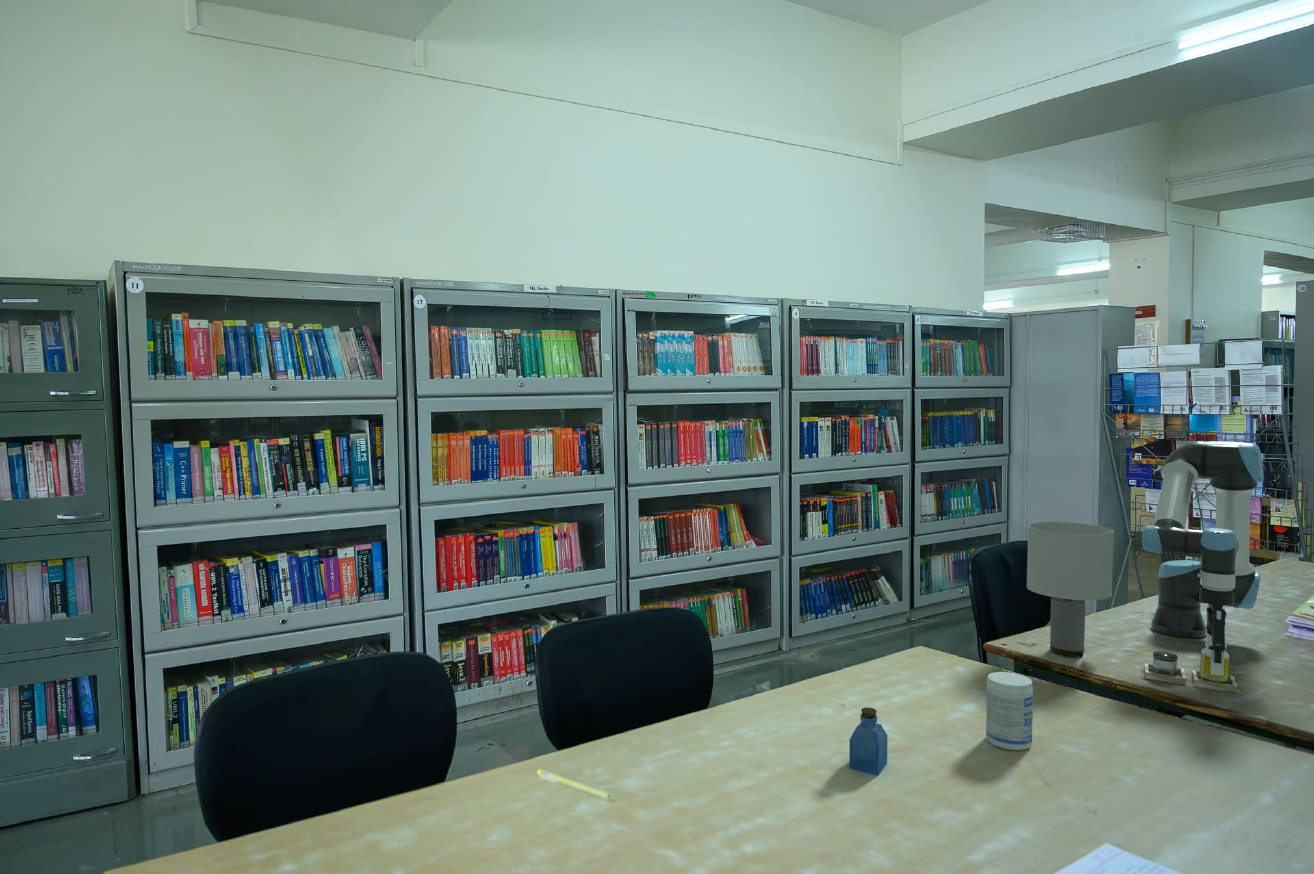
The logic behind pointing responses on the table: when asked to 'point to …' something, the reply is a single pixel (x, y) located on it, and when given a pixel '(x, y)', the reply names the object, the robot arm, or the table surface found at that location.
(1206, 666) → the pill bottle
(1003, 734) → the supplement tub
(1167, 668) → the small lidded jar
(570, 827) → the table surface
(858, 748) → the perfume bottle
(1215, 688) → the socket board
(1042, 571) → the lamp
